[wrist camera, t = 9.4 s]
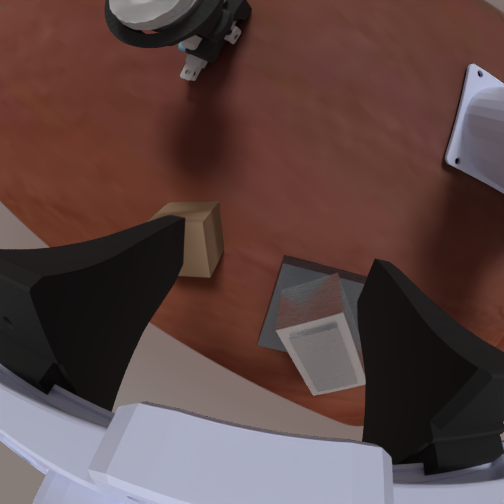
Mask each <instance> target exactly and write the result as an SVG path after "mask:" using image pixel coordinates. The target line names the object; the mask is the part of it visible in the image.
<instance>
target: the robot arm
mask: <svg viewBox="0 0 504 504" xmlns="http://www.w3.org/2000/svg"><path fill="white" fill-rule="evenodd" d="M478 71H479V72H480V77H479V76H478ZM456 158H458V163H457V164H455V159H456ZM445 161H446V163H447V164H449V165H451V166H453V167H455V168H457V169H459V170H461V171H463V172H465V173H467V174H469V175H471V176H473V177H475V178H477V179H478V180H480V181H482V182H484V183H486V184H488V185H489V186H491V187H493V188H495V189H496V190H498V191H500V192H502V193H503V194H504V84H503V83H502V82H501V81H499V80H498V79H496V78H495V77H494V76H492V75H491V74H489V73H488V72H486V71H485V70H483V69H482V68H480V67H478V66H477V65H475V64H469V65H468V67H467V72H466V77H465V82H464V87H463V91H462V96H461V100H460V104H459V108H458V112H457V116H456V120H455V124H454V127H453V131H452V134H451V138H450V141H449V144H448V148H447V151H446V154H445ZM185 219H186V218H184V217H179V216H174V215H167V216H163V217H160V218H157V219H154V220H151V221H149V222H146V223H143V224H140V225H138V226H135V227H132V228H129V229H126V230H123V231H120V232H117V233H114V234H111V235H108V236H105V237H102V238H98V239H94V240H90V241H86V242H81V243H76V244H70V245H64V246H59V247H51V248H41V249H22V250H20V249H19V250H17V249H12V250H11V249H10V250H9V249H6V250H5V249H0V441H2V442H3V443H4V444H5V445H6V446H8V447H9V448H10V449H11V450H12V451H14V452H15V453H17V454H18V455H19V456H20V457H22V458H23V459H24V460H26V461H27V462H28V463H30V464H31V465H32V466H34V467H35V468H37V469H38V470H39V471H41V472H42V473H44V474H45V475H46V477H45V479H44V480H43V482H42V484H41V486H40V488H39V490H38V493H37V495H36V497H35V499H34V501H33V503H32V504H504V441H501V437H500V434H502V433H503V432H504V424H503V421H504V352H502V351H501V350H499V349H497V348H496V347H494V346H492V345H490V344H488V343H487V342H485V341H484V340H482V339H480V338H479V337H477V336H476V335H474V334H473V333H471V332H470V331H468V330H467V329H465V328H464V327H463V326H461V325H460V324H459V323H457V322H456V321H455V320H454V319H452V318H451V317H450V316H449V315H447V314H446V313H445V312H444V311H443V310H441V309H440V308H439V307H438V306H437V305H436V304H435V303H434V302H433V301H432V300H430V299H429V298H428V297H427V296H426V295H425V294H424V293H423V292H422V291H421V290H420V289H419V288H418V287H417V286H416V285H415V284H414V283H413V282H412V281H411V280H410V279H409V278H408V277H407V276H406V275H404V274H403V273H402V272H401V271H400V270H399V269H398V268H397V267H396V266H394V265H393V264H392V263H390V262H388V261H384V260H379V259H375V260H374V262H373V265H372V267H371V270H370V272H369V275H368V277H367V279H366V282H365V284H364V287H363V289H362V291H361V294H360V296H359V298H358V300H357V320H358V329H359V336H360V342H361V349H362V355H363V362H364V369H365V381H366V391H365V417H364V429H363V439H362V442H360V441H355V440H350V439H337V438H326V437H315V436H307V435H299V434H291V433H285V432H278V431H272V430H267V429H261V428H256V427H251V426H246V425H241V424H237V423H232V422H228V421H223V420H219V419H215V418H211V417H208V416H203V415H200V414H196V413H193V412H189V411H186V410H182V409H179V408H175V407H169V406H164V405H159V404H154V403H149V402H141V403H136V404H130V405H124V406H119V407H118V409H117V411H116V413H112V408H113V405H114V402H115V399H116V396H117V393H118V390H119V387H120V385H121V382H122V379H123V377H124V374H125V371H126V369H127V367H128V364H129V362H130V359H131V357H132V355H133V352H134V350H135V348H136V346H137V344H138V342H139V340H140V337H141V335H142V333H143V331H144V330H145V328H146V326H147V324H148V323H149V321H150V320H151V318H152V317H153V315H154V314H155V312H156V311H157V309H158V308H159V306H160V305H161V303H162V302H163V300H164V299H165V297H166V295H167V294H168V292H169V291H170V289H171V288H172V286H173V285H174V283H175V281H176V279H177V277H178V275H179V273H180V270H181V268H182V266H183V263H184V238H185Z"/></svg>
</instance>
